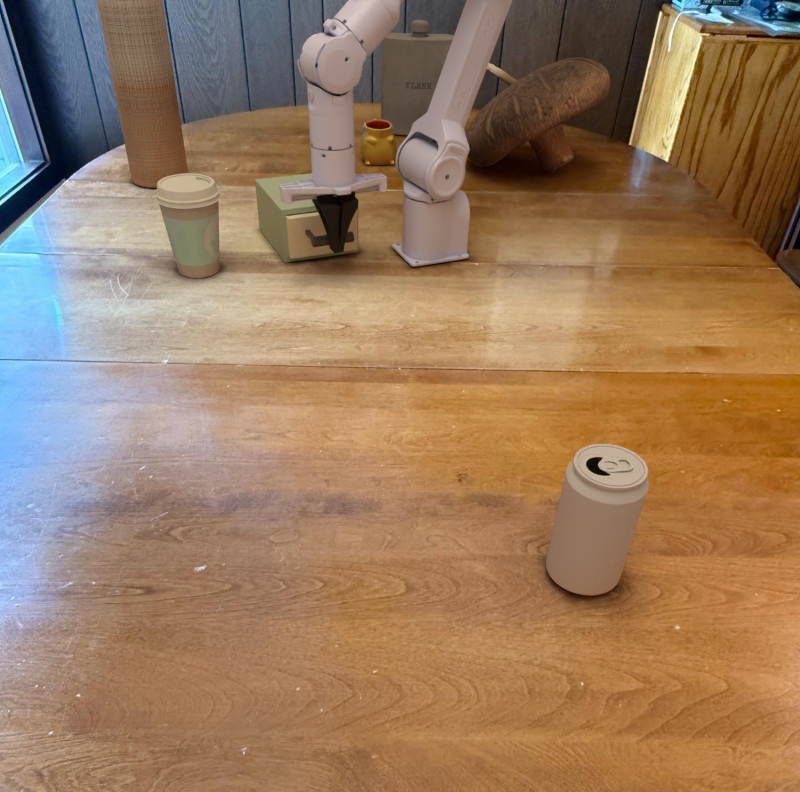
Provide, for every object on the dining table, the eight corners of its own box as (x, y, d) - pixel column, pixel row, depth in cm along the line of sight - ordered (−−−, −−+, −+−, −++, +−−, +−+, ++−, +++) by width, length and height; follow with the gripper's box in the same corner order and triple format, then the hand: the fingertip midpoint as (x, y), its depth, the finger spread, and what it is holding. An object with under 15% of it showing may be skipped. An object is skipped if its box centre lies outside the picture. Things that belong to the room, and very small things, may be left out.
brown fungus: (475, 142, 163) (543, 19, 148) (560, 207, 159) (638, 87, 145) (415, 135, 140) (489, -12, 126) (513, 210, 137) (599, 68, 123)
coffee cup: (216, 285, 107) (204, 196, 99) (158, 278, 108) (141, 189, 100) (238, 261, 114) (228, 175, 105) (183, 254, 115) (169, 169, 107)
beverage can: (537, 550, 69) (559, 440, 61) (607, 547, 70) (638, 438, 62) (553, 603, 64) (580, 491, 56) (628, 599, 65) (665, 488, 57)
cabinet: (358, 252, 117) (358, 200, 112) (284, 262, 114) (281, 209, 108) (328, 220, 126) (327, 171, 121) (259, 229, 123) (254, 179, 118)
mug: (397, 167, 147) (398, 128, 143) (361, 166, 147) (360, 128, 142) (394, 147, 156) (394, 111, 152) (360, 147, 156) (359, 111, 151)
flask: (381, 135, 162) (382, 22, 149) (380, 127, 166) (381, 17, 153) (452, 137, 163) (459, 24, 149) (449, 129, 167) (456, 19, 154)
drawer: (368, 261, 112) (368, 221, 109) (300, 271, 109) (297, 230, 105) (329, 220, 124) (328, 182, 120) (266, 228, 121) (263, 189, 117)
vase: (200, 178, 140) (175, -9, 121) (160, 193, 133) (126, -1, 115) (161, 167, 143) (130, -15, 125) (120, 181, 137) (81, -9, 119)
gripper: (287, 158, 95) (296, 267, 103) (396, 147, 99) (395, 252, 108) (271, 144, 100) (280, 249, 108) (375, 133, 104) (376, 235, 113)
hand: (336, 250), depth 109 cm, fingers closed, pressing on drawer
